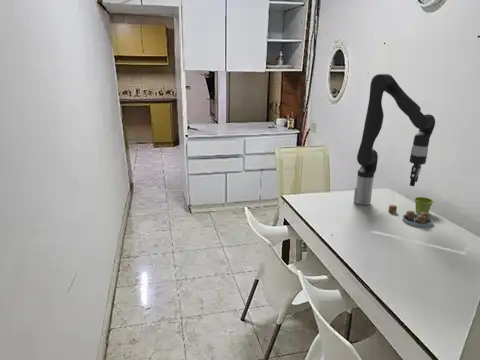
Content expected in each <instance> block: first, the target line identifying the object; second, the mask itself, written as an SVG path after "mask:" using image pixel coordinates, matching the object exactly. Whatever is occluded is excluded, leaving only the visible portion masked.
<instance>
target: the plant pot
mask: <svg viewBox="0 0 480 360" xmlns="http://www.w3.org/2000/svg"><path fill="white" fill-rule="evenodd" d="M434 201H435V200H433V199H432V198H428V197H425V196H416V197H414V203H415V214H421V212H427V213H429V212H430V210H431V207H432V205H433V203H434ZM429 214H430V213H429Z"/></svg>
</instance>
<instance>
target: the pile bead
mask: <svg viewBox="0 0 480 360" xmlns="http://www.w3.org/2000/svg"><path fill="white" fill-rule="evenodd" d="M397 209H398V206H397V205H394V204H389V206H388V213H390V214H397Z"/></svg>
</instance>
